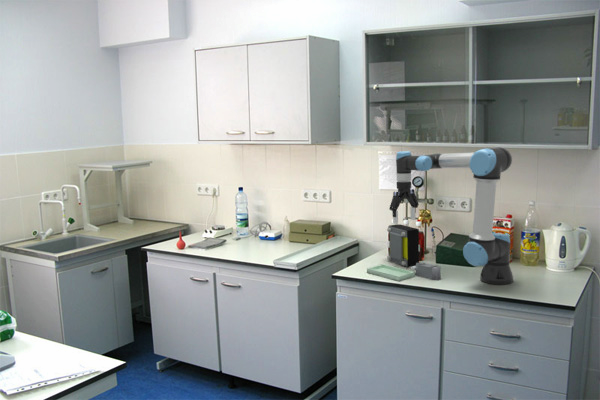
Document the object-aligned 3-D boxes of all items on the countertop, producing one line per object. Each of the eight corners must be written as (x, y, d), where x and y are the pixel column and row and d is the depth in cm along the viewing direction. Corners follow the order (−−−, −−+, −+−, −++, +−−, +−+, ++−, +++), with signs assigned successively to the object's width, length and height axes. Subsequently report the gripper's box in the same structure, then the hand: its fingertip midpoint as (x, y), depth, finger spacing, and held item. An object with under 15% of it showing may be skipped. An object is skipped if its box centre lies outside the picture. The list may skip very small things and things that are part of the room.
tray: (415, 276, 283) (415, 271, 283) (399, 281, 276) (399, 276, 276) (382, 268, 300) (382, 264, 300) (366, 272, 293) (366, 268, 293)
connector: (442, 278, 278) (442, 266, 277) (436, 280, 275) (436, 268, 274) (415, 272, 291) (415, 260, 290) (409, 274, 288) (409, 262, 287)
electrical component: (386, 260, 316) (385, 225, 313) (401, 258, 320) (400, 223, 317) (404, 267, 300) (404, 231, 297) (420, 265, 304) (419, 229, 302)
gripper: (414, 178, 303) (414, 217, 306) (381, 183, 287) (382, 223, 290) (425, 179, 297) (425, 218, 300) (392, 184, 282) (393, 225, 285)
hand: (404, 221), depth 295 cm, fingers open, 13 cm apart
